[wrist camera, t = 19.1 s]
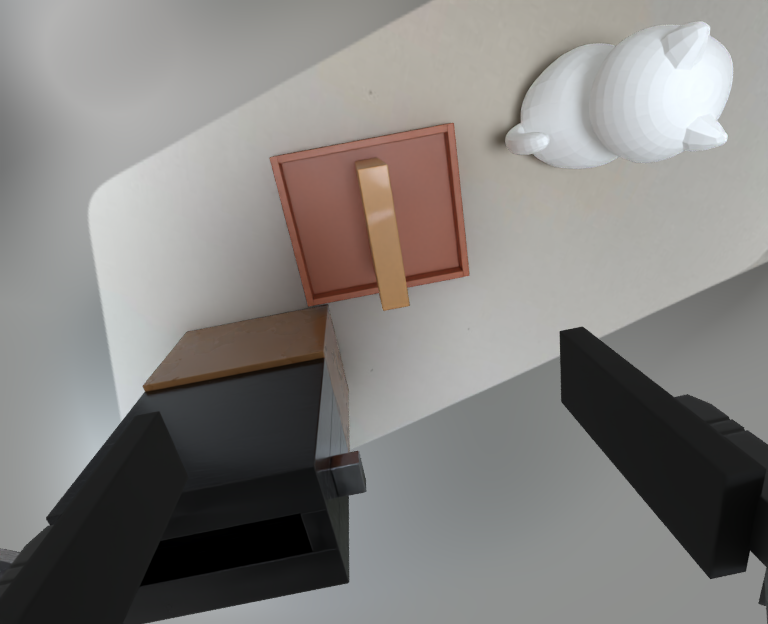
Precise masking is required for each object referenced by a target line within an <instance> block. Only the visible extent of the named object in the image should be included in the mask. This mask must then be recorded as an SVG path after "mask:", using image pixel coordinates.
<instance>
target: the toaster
mask: <svg viewBox="0 0 768 624" xmlns="http://www.w3.org/2000/svg"><path fill="white" fill-rule="evenodd" d="M143 388H144V390H145V392H144V394H143V395H142V396H141V398H140V399H139V400H138V401H137V403H136V404H135V405H134V406H133V408H132V409H131V410H130V412H129V413H128V414H127V415H126V417H125V418H124V419H123V420H122V422H121V423H120V424H119V426H118V427H117V428H116V429H115V431H114V432H113V433H112V434H111V436H110V437H109V438H108V440H107V441H106V442H105V444H104V445H103V446H102V447H101V449H100V450H99V451H98V452H97V454H96V455H95V456H94V457H93V459H92V460H91V461H90V462H89V464H88V465H87V466H86V468H85V469H84V470H83V471H82V473H81V474H80V475H79V477H78V478H77V479H76V480H75V482H74V483H73V484H72V485H71V487H70V488H69V489H68V490H67V492H66V493H65V494H64V496H63V497H62V498H61V499H60V501H59V502H58V503H57V505H56V506H55V507H54V508H53V510H52V511H51V512H50V514H49V515H48V516H47V517H46V520H47V521H48V523H49V524H50V525H55V523H56V522H57V520H58V519H59V518H60V516H61V515H62V514H63V512H64V511H65V510H66V508H67V507H68V506H69V504H70V503H71V502H72V500H73V499H74V498H75V496H76V495H77V494H78V492H79V491H80V490H81V488H82V487H83V486H84V484H85V483H86V482H87V480H88V479H89V478H90V476H91V475H92V474H93V472H94V471H95V470H96V468H97V467H98V465H99V464H100V463H101V461H102V460H103V459H104V457H105V456H106V455H107V453H108V452H109V451H110V449H111V448H112V447H113V445H114V444H115V443H116V441H117V440H118V439H119V437H120V436H121V435H122V433H123V432H124V431H125V429H126V428H127V427H128V425H129V424H130V423H131V421H132V420H133V419H134V417H135V416H137V415H142V414H147V413H152V412H157V411H160V413H161V416H162V418H163V420H164V422H165V425H166V427H167V429H168V432H169V434H170V436H171V438H172V441H173V443H174V445H175V447H176V450H177V452H178V454H179V456H180V459H181V461H182V463H183V466H184V468H185V470H186V472H187V475H188V477H189V478H188V480H187V482H186V485H185V487H184V489H183V491H182V493H181V496H180V498H179V500H178V502H177V505H176V507H175V509H174V511H173V513H172V516H171V518H170V520H169V522H168V524H167V527H166V529H165V531H164V533H163V536H162V538H161V540H160V542H159V544H158V547H157V549H156V551H155V553H154V555H153V558H152V560H151V562H150V564H149V567H148V569H147V571H146V573H145V575H144V578H143V580H142V582H141V584H140V586H139V589H138V591H137V593H136V595H135V597H134V600H133V602H132V604H131V606H130V609H129V611H128V613H127V615H126V617H125V620H124V622H123V624H145V623H150V622H155V621H160V620H165V619H170V618H175V617H180V616H185V615H190V614H195V613H200V612H205V611H211V610H216V609H221V608H226V607H230V606H236V605H241V604H246V603H250V602H256V601H261V600H266V599H270V598H276V597H281V596H286V595H291V594H296V593H301V592H306V591H311V590H316V589H321V588H326V587H331V586H336V585H342V584H347V583H349V495H354V494H359V493H364V492H366V478H365V475H364V470H363V466H362V462H361V458H360V454H359V451H354V452H349V389H348V385H347V381H346V377H345V373H344V369H343V364H342V360H341V356H340V352H339V348H338V344H337V339H336V335H335V331H334V327H333V323H332V319H331V314H330V310H329V306H328V305H324V306H319V307H313V308H308V309H303V310H298V311H293V312H287V313H282V314H277V315H272V316H267V317H261V318H256V319H251V320H246V321H240V322H235V323H230V324H225V325H220V326H214V327H209V328H204V329H199V330H194V331H188V332H186V333H185V334H184V336H183V337H182V338H181V339H180V341H179V342H178V343H177V344H176V346H175V347H174V348H173V349H172V350H171V352H170V353H169V354H168V355H167V357H166V358H165V359H164V360H163V362H162V363H161V364H160V365H159V366H158V368H157V369H156V370H155V371H154V373H153V374H152V375H151V376H150V377H149V379H148V380H147V381H146V382H145V384H144V385H143Z"/></svg>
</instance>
